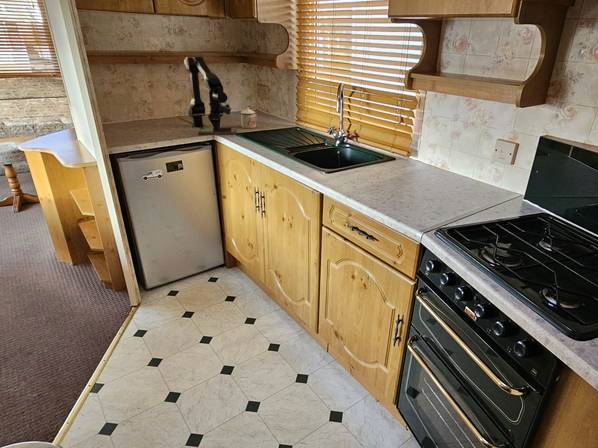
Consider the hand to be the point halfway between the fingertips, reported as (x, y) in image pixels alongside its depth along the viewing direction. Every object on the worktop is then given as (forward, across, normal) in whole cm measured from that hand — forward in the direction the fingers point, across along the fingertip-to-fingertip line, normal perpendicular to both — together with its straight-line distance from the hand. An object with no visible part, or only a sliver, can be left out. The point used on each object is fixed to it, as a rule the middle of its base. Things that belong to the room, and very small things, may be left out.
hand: (217, 129), depth 231 cm
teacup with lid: (+3, +18, -18) cm, 26 cm away
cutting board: (+3, +2, 0) cm, 3 cm away
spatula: (+1, 0, +2) cm, 2 cm away
